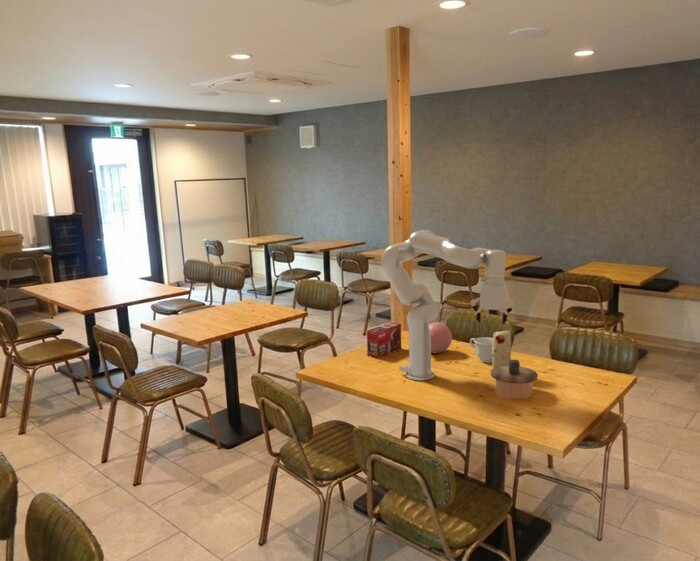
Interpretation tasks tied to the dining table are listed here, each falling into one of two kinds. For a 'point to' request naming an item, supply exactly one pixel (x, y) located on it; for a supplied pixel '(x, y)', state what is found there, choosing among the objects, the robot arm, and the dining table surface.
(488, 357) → the teacup
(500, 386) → the bowl
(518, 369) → the lid
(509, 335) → the food model
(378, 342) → the ice cream box
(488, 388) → the dining table surface
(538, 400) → the dining table surface
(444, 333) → the balloon
